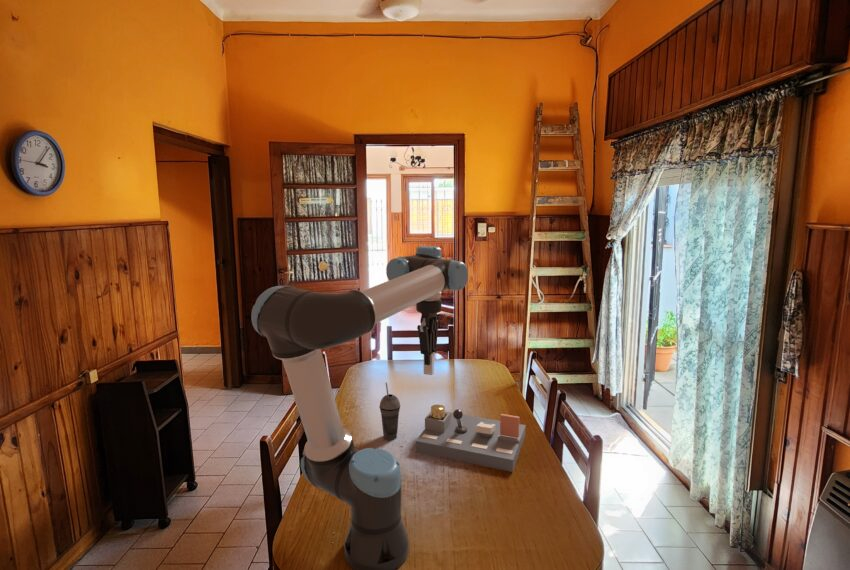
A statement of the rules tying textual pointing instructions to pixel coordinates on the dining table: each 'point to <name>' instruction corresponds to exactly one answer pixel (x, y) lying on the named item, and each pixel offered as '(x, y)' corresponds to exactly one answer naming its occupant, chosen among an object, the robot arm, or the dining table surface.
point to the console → (470, 442)
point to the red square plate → (509, 425)
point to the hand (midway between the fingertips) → (428, 373)
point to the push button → (438, 412)
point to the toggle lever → (458, 417)
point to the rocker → (485, 428)
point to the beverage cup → (389, 415)
